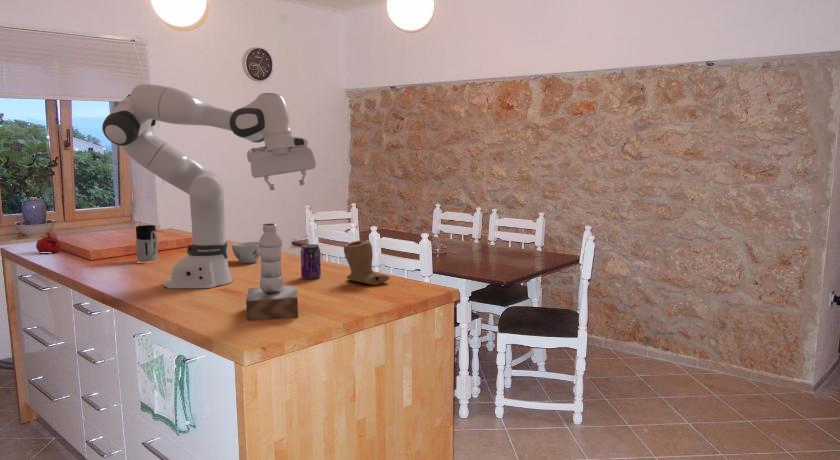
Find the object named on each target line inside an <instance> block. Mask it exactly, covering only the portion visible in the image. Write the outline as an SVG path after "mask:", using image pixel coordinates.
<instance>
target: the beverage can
mask: <svg viewBox="0 0 840 460" xmlns="http://www.w3.org/2000/svg"><path fill="white" fill-rule="evenodd" d="M321 264H322V263H321V249H320V245H319V244H313V243H312V244H303V245H301V249H300V271H301V272H300V273H301V274H300V275H301V278H304V279H306V280H314V279H319V277H321V276H322V274H321V273H322V268H321V266H322V265H321Z"/></svg>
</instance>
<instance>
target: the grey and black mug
mask: <svg viewBox="0 0 840 460" xmlns="http://www.w3.org/2000/svg"><path fill="white" fill-rule="evenodd" d="M135 235H136V237H135V243H136V245H135V246H136V259H137V261H140V262H147V261H155V260H159V258H158V256H159V255H158V254H159V253H158V236H157V228H156V225H154V224H153V225H152V224H150V225H149V224H146V225H145V224H143V225H138V226H137V225H136V226H135ZM137 261H136V262H137Z"/></svg>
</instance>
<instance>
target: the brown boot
mask: <svg viewBox="0 0 840 460" xmlns="http://www.w3.org/2000/svg"><path fill="white" fill-rule="evenodd" d="M343 254H344V256H345V260H346V261H347V263H348V266H349V268H350V274H348V275H347V276H346V279H347V280H349V281H352V282H356V283H361V284H362V283H363V284H368V285H374V286H375V285H376V286H377V285H380V284H381V285H382V284H383V283H386V282H388V281H389V280H390V276H388V275H385V274H380V273H377V272H374V271H373V266H372V265H373V264H372V263H373V257H374V256H373V254H374V253H373V246H372V243H371V242H370V240H368V239H366V240H364V241H363V240H355V241H351V242H348V243H346V244H344V246H343Z"/></svg>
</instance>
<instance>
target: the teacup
mask: <svg viewBox="0 0 840 460" xmlns="http://www.w3.org/2000/svg"><path fill="white" fill-rule="evenodd" d="M231 248H232V251H233V252H232V253H233V254H234V257H235V258H236V259H237V260H238V261H240V263H241V264H244V263H248V264H254V263H256V261H258V260H259V258H261V255H260V249H259V241H248V242H247V241H246V242H235V243H232V244H231Z"/></svg>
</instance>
